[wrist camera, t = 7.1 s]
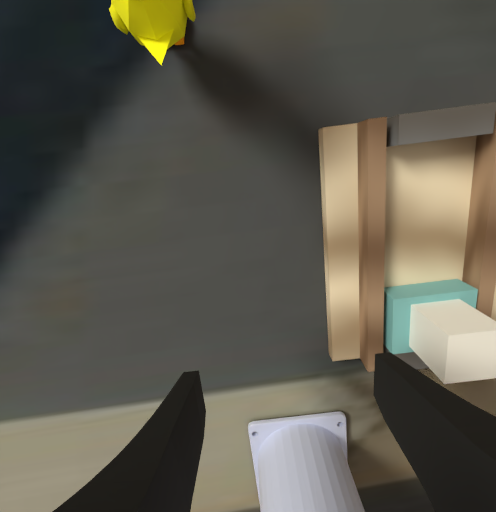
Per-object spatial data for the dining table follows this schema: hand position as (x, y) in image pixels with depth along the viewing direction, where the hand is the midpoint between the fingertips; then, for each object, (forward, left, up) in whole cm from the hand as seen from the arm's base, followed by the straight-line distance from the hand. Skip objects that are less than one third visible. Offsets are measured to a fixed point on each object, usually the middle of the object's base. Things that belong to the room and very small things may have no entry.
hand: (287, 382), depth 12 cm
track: (+2, -10, -9) cm, 14 cm away
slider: (-2, -10, -8) cm, 13 cm away
